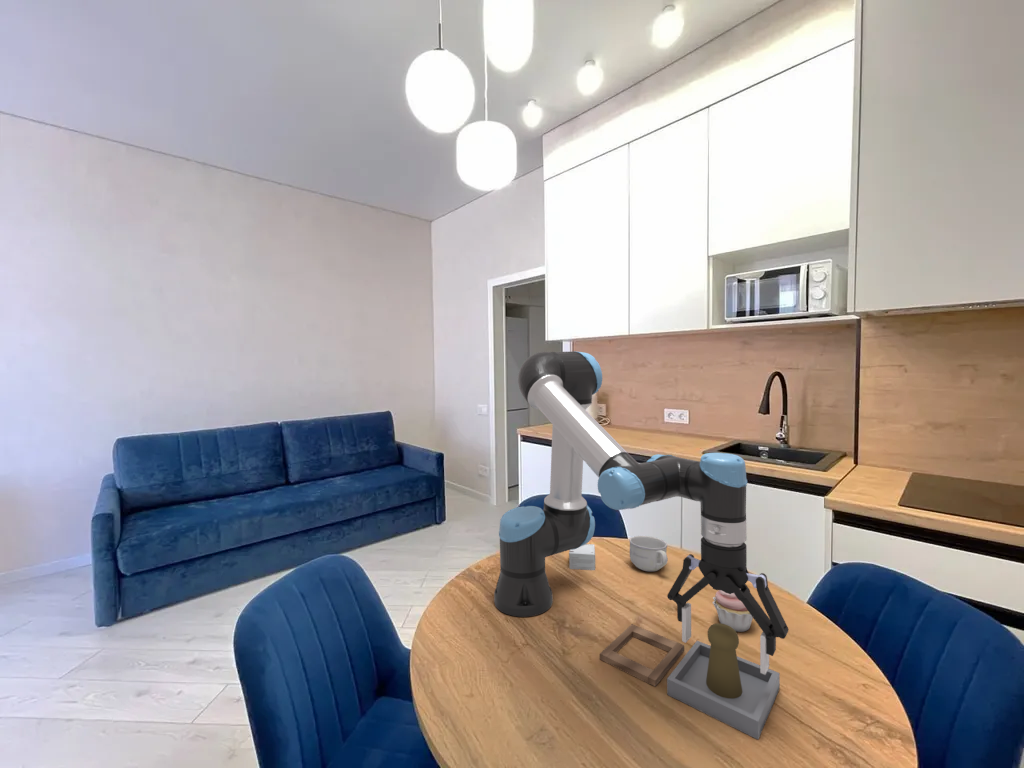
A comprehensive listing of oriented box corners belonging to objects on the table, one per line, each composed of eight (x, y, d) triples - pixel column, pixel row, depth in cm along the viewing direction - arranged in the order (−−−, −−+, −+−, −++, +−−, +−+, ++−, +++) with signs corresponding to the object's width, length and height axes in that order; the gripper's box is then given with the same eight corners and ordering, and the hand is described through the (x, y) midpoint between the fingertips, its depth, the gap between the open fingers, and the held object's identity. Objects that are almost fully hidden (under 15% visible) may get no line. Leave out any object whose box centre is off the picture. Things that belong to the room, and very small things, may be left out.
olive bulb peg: (746, 700, 78) (745, 639, 77) (710, 696, 79) (708, 636, 79) (737, 676, 84) (735, 620, 83) (703, 673, 85) (701, 617, 85)
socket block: (599, 659, 91) (599, 653, 91) (631, 629, 101) (631, 623, 101) (655, 686, 83) (655, 680, 83) (684, 650, 93) (684, 645, 93)
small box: (595, 560, 139) (595, 543, 138) (595, 571, 131) (595, 554, 131) (570, 558, 140) (570, 542, 140) (569, 569, 132) (568, 552, 132)
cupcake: (707, 611, 108) (707, 571, 108) (749, 615, 106) (749, 574, 106) (717, 634, 99) (717, 590, 99) (763, 638, 97) (763, 594, 97)
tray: (667, 694, 81) (667, 678, 81) (697, 654, 92) (697, 640, 92) (758, 739, 71) (758, 721, 71) (779, 688, 82) (779, 672, 82)
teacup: (624, 560, 137) (624, 535, 137) (657, 558, 139) (657, 533, 138) (642, 582, 124) (642, 553, 123) (679, 579, 125) (679, 551, 124)
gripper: (649, 529, 86) (650, 636, 87) (799, 566, 69) (799, 698, 70) (665, 519, 92) (666, 619, 92) (808, 550, 75) (807, 673, 76)
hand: (723, 653), depth 81 cm, fingers open, 13 cm apart
